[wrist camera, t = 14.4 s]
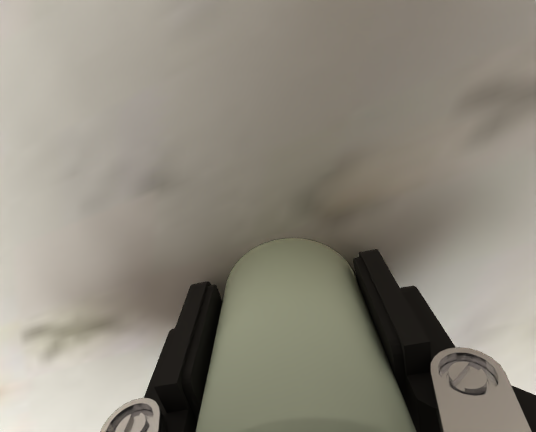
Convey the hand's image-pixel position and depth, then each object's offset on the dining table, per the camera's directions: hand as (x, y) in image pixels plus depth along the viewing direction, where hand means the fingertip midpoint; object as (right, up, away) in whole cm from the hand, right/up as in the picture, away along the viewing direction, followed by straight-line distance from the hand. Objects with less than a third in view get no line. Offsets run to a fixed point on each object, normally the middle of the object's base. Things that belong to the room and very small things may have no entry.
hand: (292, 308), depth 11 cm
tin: (0, 0, +1) cm, 1 cm away
